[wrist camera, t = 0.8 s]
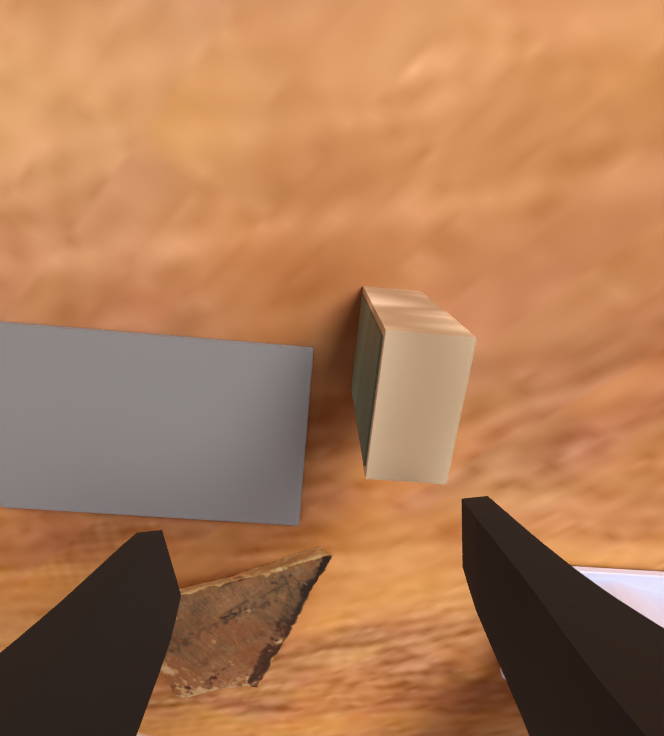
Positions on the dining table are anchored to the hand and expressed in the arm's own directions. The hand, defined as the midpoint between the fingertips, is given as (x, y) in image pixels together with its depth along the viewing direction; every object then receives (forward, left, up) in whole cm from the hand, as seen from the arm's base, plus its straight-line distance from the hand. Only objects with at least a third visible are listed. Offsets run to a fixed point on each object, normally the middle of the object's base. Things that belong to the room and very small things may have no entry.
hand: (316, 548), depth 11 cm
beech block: (-3, -3, -10) cm, 10 cm away
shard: (+4, +12, -10) cm, 17 cm away
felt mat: (+7, +2, -10) cm, 12 cm away
